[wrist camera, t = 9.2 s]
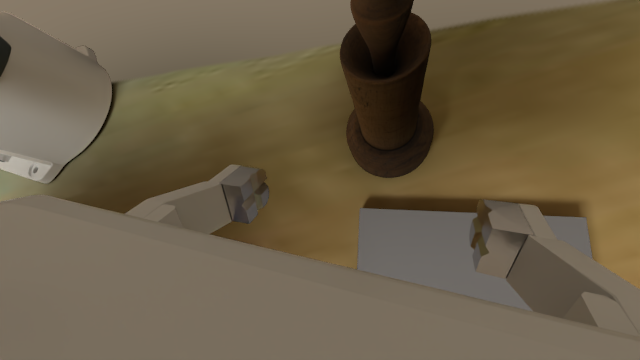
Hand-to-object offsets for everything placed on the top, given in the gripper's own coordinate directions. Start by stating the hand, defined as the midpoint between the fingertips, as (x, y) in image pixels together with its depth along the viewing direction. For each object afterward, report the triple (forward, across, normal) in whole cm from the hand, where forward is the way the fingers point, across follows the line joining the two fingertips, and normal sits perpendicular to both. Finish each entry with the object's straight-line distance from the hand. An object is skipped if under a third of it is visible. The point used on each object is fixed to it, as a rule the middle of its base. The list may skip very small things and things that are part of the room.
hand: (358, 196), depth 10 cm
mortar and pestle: (+13, 0, +3) cm, 13 cm away
